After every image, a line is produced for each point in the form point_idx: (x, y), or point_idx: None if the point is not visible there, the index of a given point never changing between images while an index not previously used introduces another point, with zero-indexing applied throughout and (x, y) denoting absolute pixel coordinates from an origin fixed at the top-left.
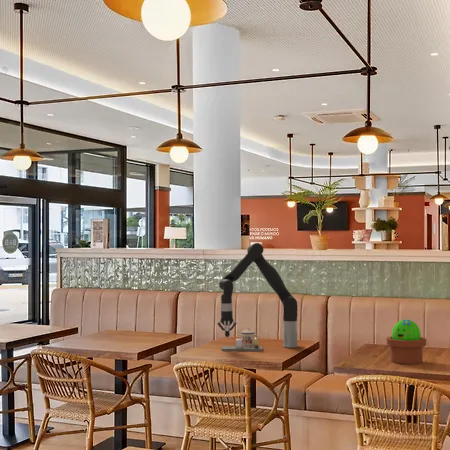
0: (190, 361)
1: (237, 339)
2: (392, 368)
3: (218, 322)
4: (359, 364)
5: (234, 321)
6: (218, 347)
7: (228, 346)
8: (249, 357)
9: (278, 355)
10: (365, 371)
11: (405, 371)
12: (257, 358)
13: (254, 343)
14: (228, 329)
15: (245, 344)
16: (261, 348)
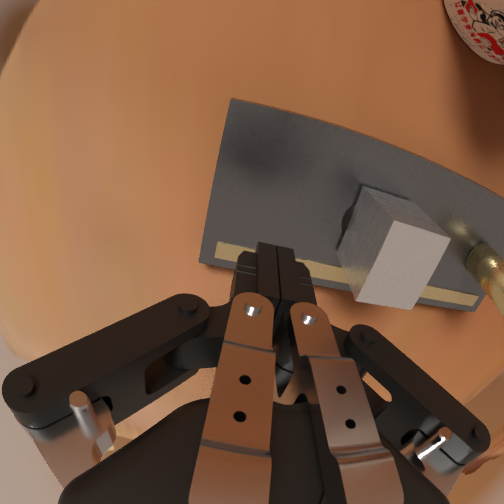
0: None
1: (383, 281)
2: (498, 447)
3: (25, 427)
4: (495, 438)
5: (451, 485)
6: (187, 34)
7: (285, 141)
8: None
9: (454, 388)
10: None
11: (491, 455)
12: None
13: (482, 285)
14: (290, 379)
15: (470, 42)
16: (482, 295)
